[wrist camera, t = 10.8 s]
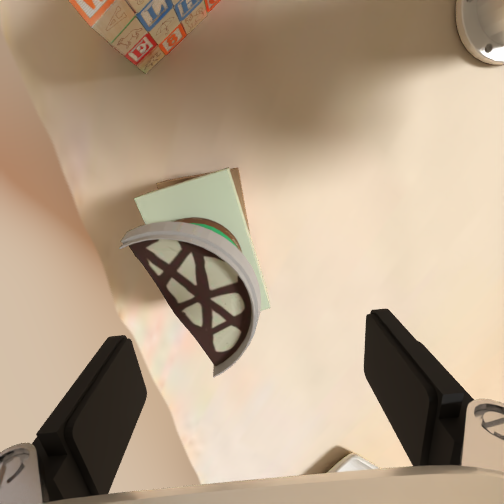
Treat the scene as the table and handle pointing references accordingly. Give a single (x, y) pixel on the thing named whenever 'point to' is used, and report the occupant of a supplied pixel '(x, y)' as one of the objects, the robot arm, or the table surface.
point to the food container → (202, 282)
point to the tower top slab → (205, 211)
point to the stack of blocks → (143, 25)
